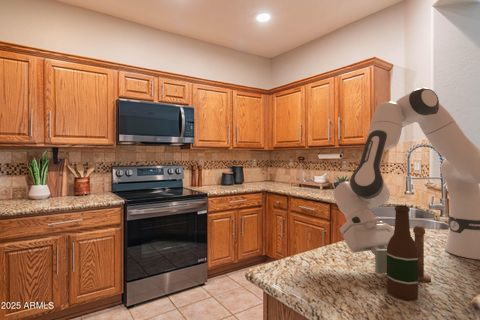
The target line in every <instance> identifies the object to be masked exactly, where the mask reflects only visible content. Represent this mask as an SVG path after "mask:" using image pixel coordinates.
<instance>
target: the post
mask: <svg viewBox="0 0 480 320" xmlns="http://www.w3.org/2000/svg"><path fill="white" fill-rule="evenodd" d="M412 232H413V234H414V241H415V243H416V246H417V248H418V282H422V283H430V282H431V281H432V277H431V276H430V275H429V274H428V273H425V267H424V266H425V264H424V263H425V262H424V261H425V260H424V259H425V258H424V257H425V255H424V254H425V253H424V252H425V249H424V247H425V243H424V242H425V241H424V240H425V237H424V236H425V234H426V229H425V227H423V226H421V225H415V226H414V227H413V228H412Z"/></svg>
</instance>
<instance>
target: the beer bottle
mask: <svg viewBox="0 0 480 320" xmlns="http://www.w3.org/2000/svg"><path fill="white" fill-rule="evenodd" d="M394 211H395V219H394V235H393V236H392V237H391V238H390V240H389V243H388V246H387V273H386V292H387V294H389V296H392V297H393V298H395V299H398V300H402V301H406V302H411V301H417V300H418V297H419V296H418V295H419V281H418V248H417V246H416V243H415V239H413V236H412V233H411V229H410V228H411V227H410V214H409V213H410V211H411V209H410V207H409V206H407V205H401V204H400V205H395V206H394Z"/></svg>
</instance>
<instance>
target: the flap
mask: <svg viewBox="0 0 480 320" xmlns="http://www.w3.org/2000/svg"><path fill="white" fill-rule="evenodd" d="M374 256H375V257H374V263H375V264H374V267H375V269H374V272H375V273H376V274H387V249H375V255H374Z"/></svg>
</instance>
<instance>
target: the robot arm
mask: <svg viewBox="0 0 480 320" xmlns="http://www.w3.org/2000/svg"><path fill="white" fill-rule="evenodd" d="M439 101H440V100H439V97H438V94H437V93H436V92H435V91H434V90H432V89H431V88H427V87H420V88H416V89H414V90H413V91H411V92H409V93H407V94H405V95H404V96H402V97H400V98H398V100H397V101H395V102H393V101H385V102H382V103H380V104H379V105H378V106H377V107H376V108H375V111H374V112H373V115H372V118H371V121H370V123H369V124H370V125H369V129H368V132H367V133H368V134H367V139H366V142H365V144H364V149H363V152H362V154H361V159H360V161H359V164H358V166H356V168H355V170H354V171H353V173H352V174H351V177H350V178H349V181H342V182H340V183H339V184H337V186H336V187H335V188H334V190H333V193H332V194H333V198H334V201H335V203H336V205H337V206H338V209H339V210H340V212H341V213H342V214H343V215H344V217H345V220H346V221H345V223H343V224H342V226H341V227H340V228H339V231H340V233H341V234H342V235H343V236H342V237H343V239H344V242H345V244H346V245H347V247H348V248H349V250H350V251H351V252H353V253H355V254H356V253H360V252H368V251H371V253H372V254H373V255H374V256H375V249H387V246H388V243H389V240H390V238H391V237H392V236H393V235H394V230H395V228H393V227H392V226H391V225H390V224H388V223H386V222H384V221H382V220H380V221H379V220H378V219H377V218H376V216H375V215H374V213H373V212H372V210H373V209H376V208H379V207H381V206H383V205H385V204H386V203H387V202H388V201H389V199H390V190H389V188H388V186H387V184H386V183H385V180H384V178H383V176H382V173H381V169H380V168H381V166H382V165H381V164H382V161H383V156H384V154H385V153H384V152H385V151H390V150H392V149H394V148H395V147H397V146H398V143H399V141H400V139H401V135H402V130H403V128H404V127H406V126H409V125H411V124H413V123H417V124H418V126H419V128H420V129H421V131H422V133H423V135H424V136H425V137H426V138H427V140H428V142H429V143H430V145H431V146H432V148H433V150H434V151H435V152H436V153H438V154H439V155H440V156H442V157H443V158H444V160H443V161H442V163H441V165H440V172H441V174H442V175H443V177H444V179H445V183H446V188H447V190H448V196H449V216H448V219H447V221H448V222H447V223H448V229H447V231H448V232H447V235H446V236H447V237H446V243H445V245H444V251H446V252H447V253H449V254H452V255H455V256H458V257H463V258H467V259H473V260H480V148H479V147H478V146H477V145H476V144H474V142H472V141H471V140H470V139H469V138H468V137H467V136H466V135H465V133H464V131H463V130H462V129H461V128H460V126H459V125H458V123H457V122H456V120H455V119H454V118H453V116H452V114H450V112H449V111H448V110H447V109H446V108H445V107H444V106H443V105H442V104H441V103H440V102H439Z"/></svg>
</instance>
